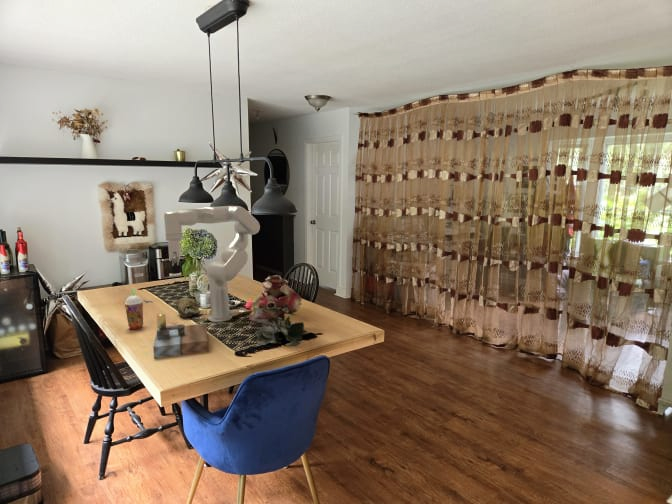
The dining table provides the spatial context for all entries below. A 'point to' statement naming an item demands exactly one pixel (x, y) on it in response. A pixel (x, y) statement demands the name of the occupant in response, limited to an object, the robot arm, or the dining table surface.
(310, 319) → the dining table surface
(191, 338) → the lever switch panel
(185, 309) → the mineral specimen
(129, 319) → the smoothie
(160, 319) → the switch lever
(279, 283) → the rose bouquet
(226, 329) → the dining table surface
